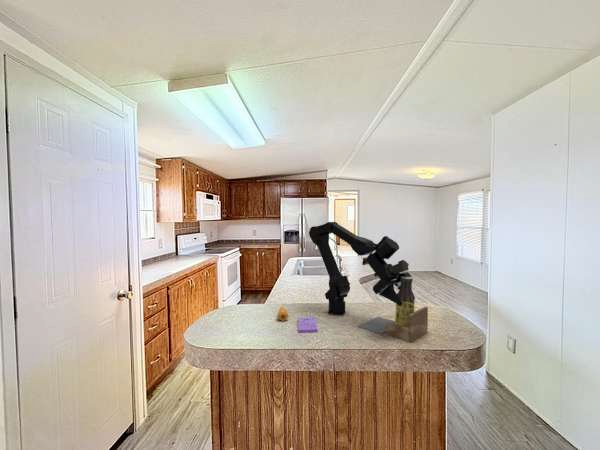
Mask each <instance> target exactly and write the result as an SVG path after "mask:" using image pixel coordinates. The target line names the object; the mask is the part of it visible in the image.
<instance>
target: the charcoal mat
mask: <svg viewBox="0 0 600 450" xmlns="http://www.w3.org/2000/svg"><path fill="white" fill-rule="evenodd" d="M387 322H389V323H392V324H395V320H391V319H388V318H385V317H381V316H377V317H374V318H372V319H370V320H368V321H365V322H363V323H360V324H358V325H357V328H361V329H364V330H367V331H370V332H372V333H373V332H374V333H377V334H379V335H383V334H386V323H387Z"/></svg>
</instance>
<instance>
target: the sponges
mask: <svg viewBox="0 0 600 450" xmlns="http://www.w3.org/2000/svg"><path fill="white" fill-rule="evenodd" d="M297 322H298V323H297V325H298V326H297V332H298V333H299V332H300V333H299V334H308V333H311V334H312V333H314V334H316V333H319V331H318V330H319V328H318V325H317V319H316V316H309V317H308V316H307V317H306V316H305V317H297Z"/></svg>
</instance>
